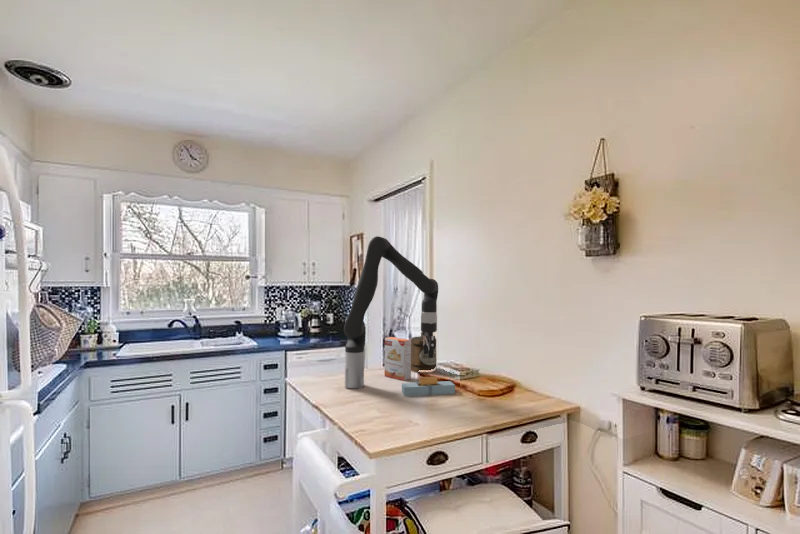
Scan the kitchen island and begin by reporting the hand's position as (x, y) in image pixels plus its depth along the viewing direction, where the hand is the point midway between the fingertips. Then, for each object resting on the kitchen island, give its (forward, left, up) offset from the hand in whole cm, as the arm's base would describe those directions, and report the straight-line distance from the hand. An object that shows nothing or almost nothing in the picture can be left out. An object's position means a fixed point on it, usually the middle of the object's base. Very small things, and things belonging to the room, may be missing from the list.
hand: (428, 355), depth 199 cm
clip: (0, 0, -17) cm, 17 cm away
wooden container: (+9, +43, -18) cm, 47 cm away
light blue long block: (0, 0, -17) cm, 17 cm away
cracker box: (-9, +29, -18) cm, 35 cm away
